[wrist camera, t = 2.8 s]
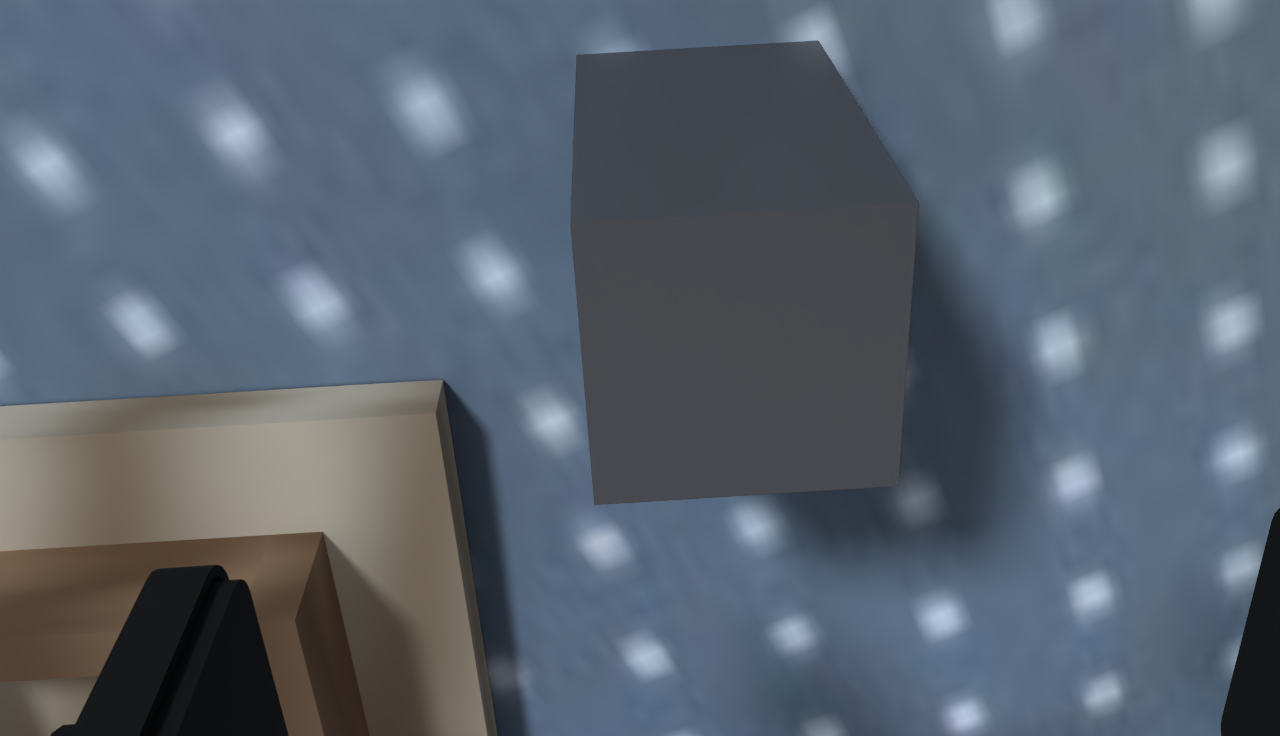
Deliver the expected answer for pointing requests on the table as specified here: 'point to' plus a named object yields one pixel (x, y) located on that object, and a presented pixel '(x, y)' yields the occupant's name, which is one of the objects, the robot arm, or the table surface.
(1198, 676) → the table surface
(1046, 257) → the table surface
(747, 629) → the table surface
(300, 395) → the end holder
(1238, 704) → the robot arm
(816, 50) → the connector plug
